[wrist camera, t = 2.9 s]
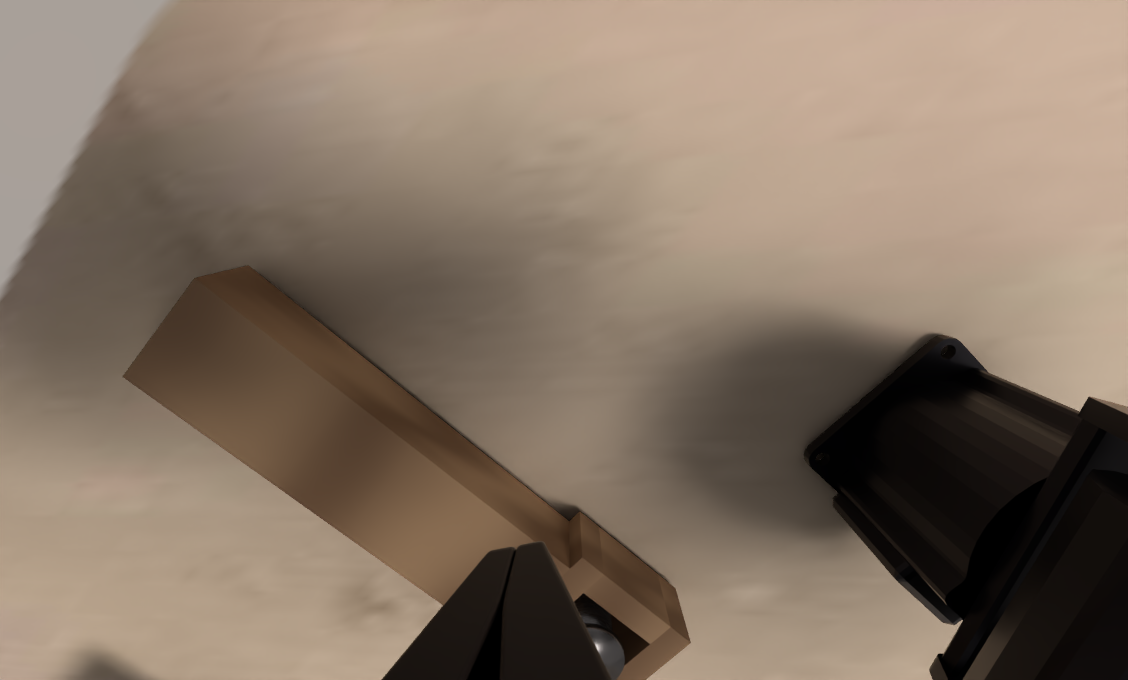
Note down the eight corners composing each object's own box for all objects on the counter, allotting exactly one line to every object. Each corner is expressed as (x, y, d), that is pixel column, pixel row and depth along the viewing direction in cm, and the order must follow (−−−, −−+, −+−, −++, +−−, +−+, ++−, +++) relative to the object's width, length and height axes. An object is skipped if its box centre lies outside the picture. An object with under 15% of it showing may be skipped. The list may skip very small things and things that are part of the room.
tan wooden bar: (675, 588, 21) (690, 643, 18) (585, 664, 22) (588, 726, 19) (258, 251, 17) (206, 262, 15) (174, 363, 18) (112, 390, 16)
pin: (581, 547, 21) (584, 617, 17) (628, 584, 21) (640, 659, 18) (537, 587, 21) (532, 663, 18) (584, 623, 22) (587, 703, 18)
